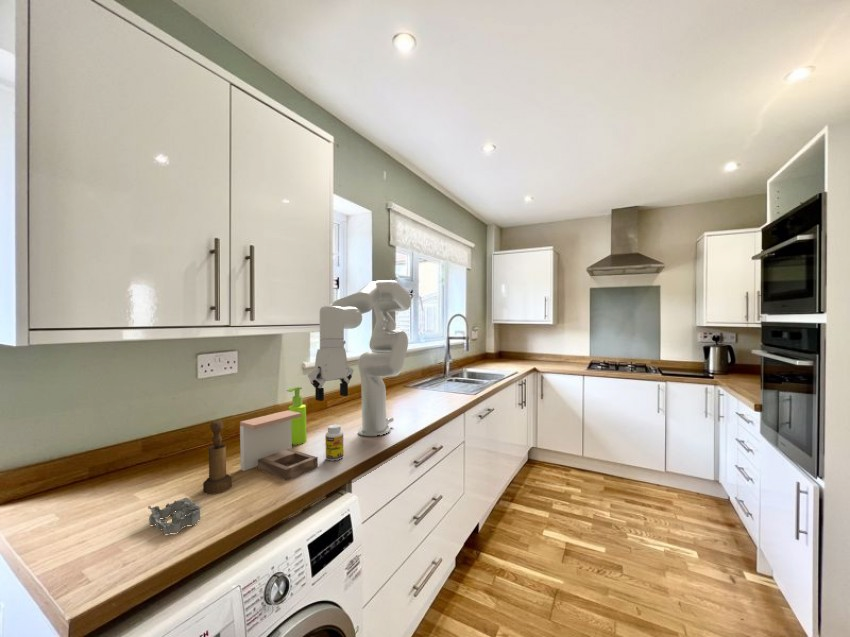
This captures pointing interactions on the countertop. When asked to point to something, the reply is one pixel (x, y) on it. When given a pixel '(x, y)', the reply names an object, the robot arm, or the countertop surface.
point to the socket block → (281, 460)
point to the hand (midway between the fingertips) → (332, 398)
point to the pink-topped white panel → (265, 437)
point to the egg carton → (175, 515)
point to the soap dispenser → (298, 423)
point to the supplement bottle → (334, 443)
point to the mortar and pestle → (217, 464)
